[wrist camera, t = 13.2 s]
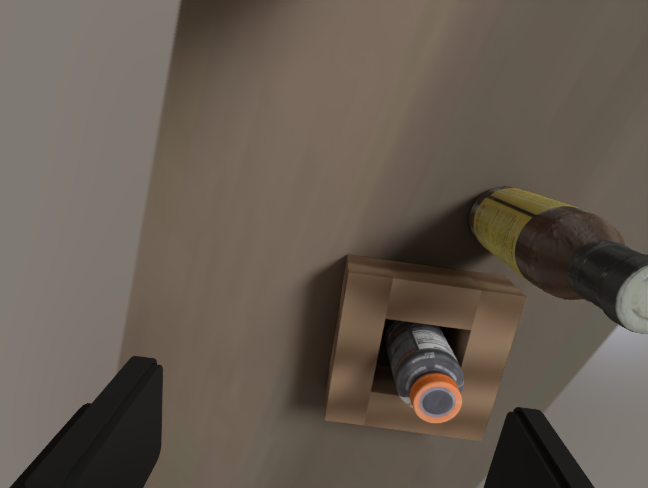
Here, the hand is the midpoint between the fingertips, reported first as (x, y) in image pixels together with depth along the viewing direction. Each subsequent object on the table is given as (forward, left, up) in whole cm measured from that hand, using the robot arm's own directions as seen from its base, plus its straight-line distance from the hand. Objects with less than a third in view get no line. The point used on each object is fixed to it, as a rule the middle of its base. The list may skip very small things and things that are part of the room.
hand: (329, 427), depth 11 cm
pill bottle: (+13, +10, -31) cm, 35 cm away
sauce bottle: (-1, +16, -31) cm, 34 cm away
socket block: (+13, +10, -30) cm, 34 cm away
